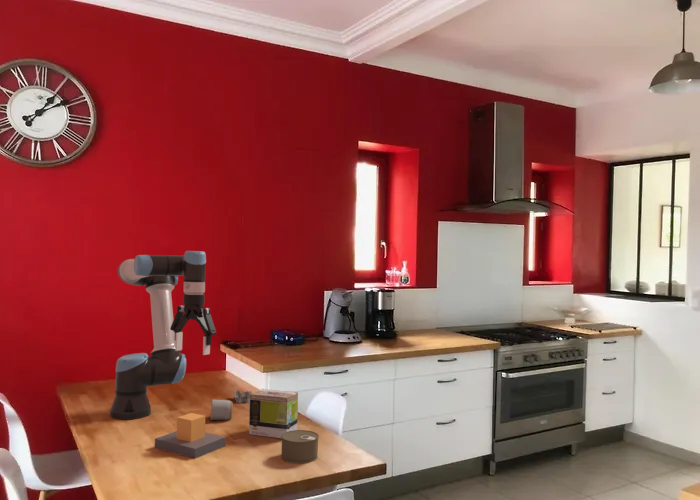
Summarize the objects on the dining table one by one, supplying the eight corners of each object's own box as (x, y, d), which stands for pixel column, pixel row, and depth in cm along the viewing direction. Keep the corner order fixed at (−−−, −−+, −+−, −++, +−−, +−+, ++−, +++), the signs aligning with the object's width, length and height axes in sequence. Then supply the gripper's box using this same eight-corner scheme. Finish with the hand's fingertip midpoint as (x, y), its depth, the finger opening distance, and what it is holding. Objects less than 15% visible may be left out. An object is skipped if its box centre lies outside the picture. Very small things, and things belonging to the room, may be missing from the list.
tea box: (298, 432, 210) (299, 391, 210) (286, 440, 200) (287, 397, 200) (261, 427, 214) (262, 387, 215) (248, 434, 205) (249, 393, 205)
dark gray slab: (154, 447, 189) (154, 438, 189) (186, 436, 201) (186, 428, 201) (195, 458, 180) (195, 448, 180) (225, 446, 192) (225, 437, 192)
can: (295, 448, 192) (295, 427, 192) (325, 455, 186) (325, 434, 186) (273, 458, 182) (273, 437, 182) (304, 466, 176) (304, 444, 176)
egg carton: (233, 397, 257) (234, 388, 257) (250, 397, 259) (251, 388, 259) (234, 403, 247) (234, 394, 247) (252, 403, 249) (252, 393, 249)
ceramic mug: (232, 421, 220) (232, 401, 221) (210, 422, 219) (211, 402, 219) (231, 414, 231) (232, 395, 231) (210, 415, 229) (211, 395, 229)
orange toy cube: (176, 438, 189) (177, 417, 189) (190, 433, 195) (191, 413, 195) (190, 442, 186) (191, 420, 186) (204, 436, 192) (205, 415, 192)
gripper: (161, 292, 210) (159, 349, 210) (212, 296, 198) (210, 357, 198) (176, 291, 216) (175, 347, 216) (227, 295, 204) (225, 354, 204)
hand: (192, 352), depth 207 cm, fingers open, 13 cm apart
